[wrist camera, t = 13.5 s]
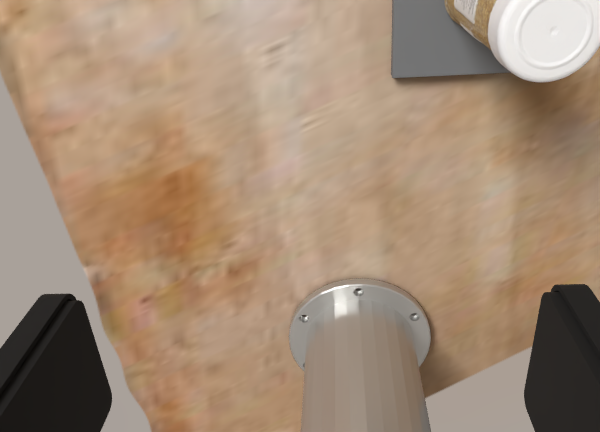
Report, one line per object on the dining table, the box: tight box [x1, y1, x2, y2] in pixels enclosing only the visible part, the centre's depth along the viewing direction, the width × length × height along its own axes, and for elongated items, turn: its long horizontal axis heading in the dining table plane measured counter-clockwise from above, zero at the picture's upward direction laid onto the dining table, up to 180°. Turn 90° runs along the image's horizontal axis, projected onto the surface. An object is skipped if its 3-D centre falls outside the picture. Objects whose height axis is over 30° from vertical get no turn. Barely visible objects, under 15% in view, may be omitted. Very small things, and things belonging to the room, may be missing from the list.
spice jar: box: [445, 0, 600, 82], centre depth 29 cm, size 5×5×13 cm
